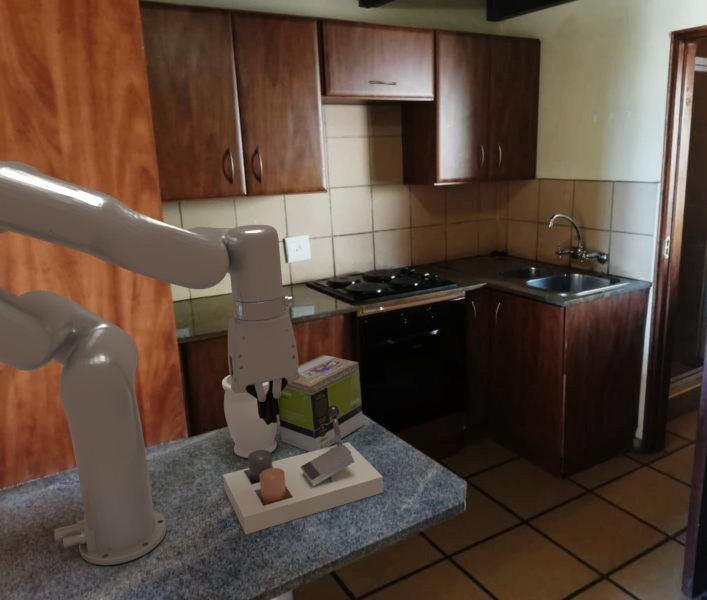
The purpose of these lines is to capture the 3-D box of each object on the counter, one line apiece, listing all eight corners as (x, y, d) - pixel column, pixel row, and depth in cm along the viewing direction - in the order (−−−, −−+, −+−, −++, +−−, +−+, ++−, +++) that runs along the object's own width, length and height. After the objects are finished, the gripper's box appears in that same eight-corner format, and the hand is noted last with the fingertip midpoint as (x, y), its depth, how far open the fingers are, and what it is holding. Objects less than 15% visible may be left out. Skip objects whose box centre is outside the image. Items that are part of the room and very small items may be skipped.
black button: (253, 487, 99) (251, 463, 98) (247, 476, 103) (245, 453, 102) (276, 481, 101) (274, 457, 100) (269, 470, 104) (267, 447, 103)
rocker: (313, 486, 97) (310, 480, 96) (302, 472, 101) (300, 466, 101) (354, 462, 99) (352, 455, 99) (342, 449, 104) (340, 443, 103)
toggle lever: (337, 451, 106) (329, 407, 106) (332, 450, 108) (324, 406, 108) (348, 448, 107) (340, 404, 107) (343, 447, 109) (335, 404, 109)
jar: (267, 431, 124) (261, 364, 120) (291, 449, 116) (286, 378, 112) (220, 447, 118) (212, 377, 114) (242, 467, 110) (235, 393, 106)
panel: (245, 534, 90) (243, 510, 89) (224, 490, 103) (222, 468, 102) (383, 492, 100) (382, 469, 99) (349, 456, 112) (348, 436, 111)
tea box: (328, 415, 130) (325, 352, 127) (363, 427, 124) (361, 361, 120) (279, 442, 119) (274, 374, 116) (315, 456, 113) (311, 384, 109)
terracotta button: (265, 509, 93) (263, 483, 92) (258, 496, 97) (256, 472, 96) (289, 502, 95) (287, 477, 94) (281, 489, 98) (279, 465, 97)
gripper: (297, 296, 94) (305, 401, 99) (204, 310, 88) (217, 422, 93) (314, 306, 88) (322, 418, 92) (214, 322, 82) (228, 442, 86)
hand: (269, 420), depth 92 cm, fingers closed
